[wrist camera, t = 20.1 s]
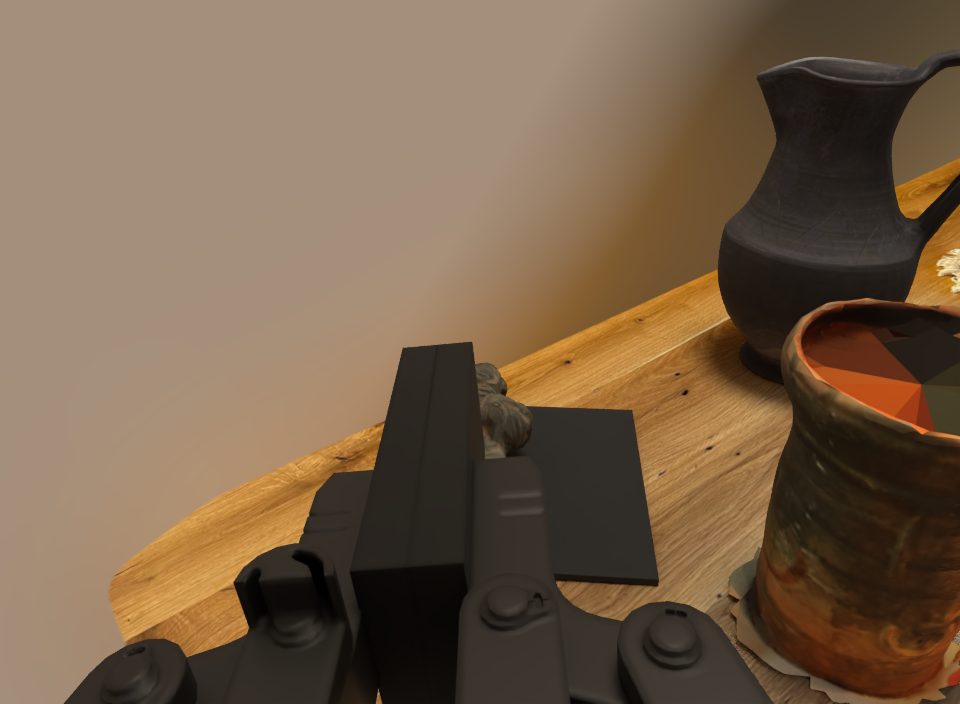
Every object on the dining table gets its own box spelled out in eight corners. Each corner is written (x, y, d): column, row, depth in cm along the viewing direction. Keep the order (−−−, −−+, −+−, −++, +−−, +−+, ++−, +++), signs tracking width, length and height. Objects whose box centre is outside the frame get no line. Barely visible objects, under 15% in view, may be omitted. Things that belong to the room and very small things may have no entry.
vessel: (929, 795, 36) (1093, 496, 26) (684, 626, 45) (734, 356, 35) (1009, 628, 44) (1156, 354, 34) (789, 514, 53) (854, 272, 43)
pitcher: (716, 312, 82) (762, 33, 67) (917, 345, 75) (1021, 39, 59) (689, 386, 69) (740, 58, 54) (932, 436, 61) (1072, 69, 46)
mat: (658, 585, 48) (659, 579, 47) (454, 573, 49) (453, 567, 49) (631, 415, 65) (632, 409, 64) (481, 409, 66) (481, 404, 66)
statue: (311, 570, 39) (402, 322, 65) (369, 677, 43) (432, 404, 69) (508, 540, 36) (520, 296, 62) (548, 656, 41) (544, 383, 67)
